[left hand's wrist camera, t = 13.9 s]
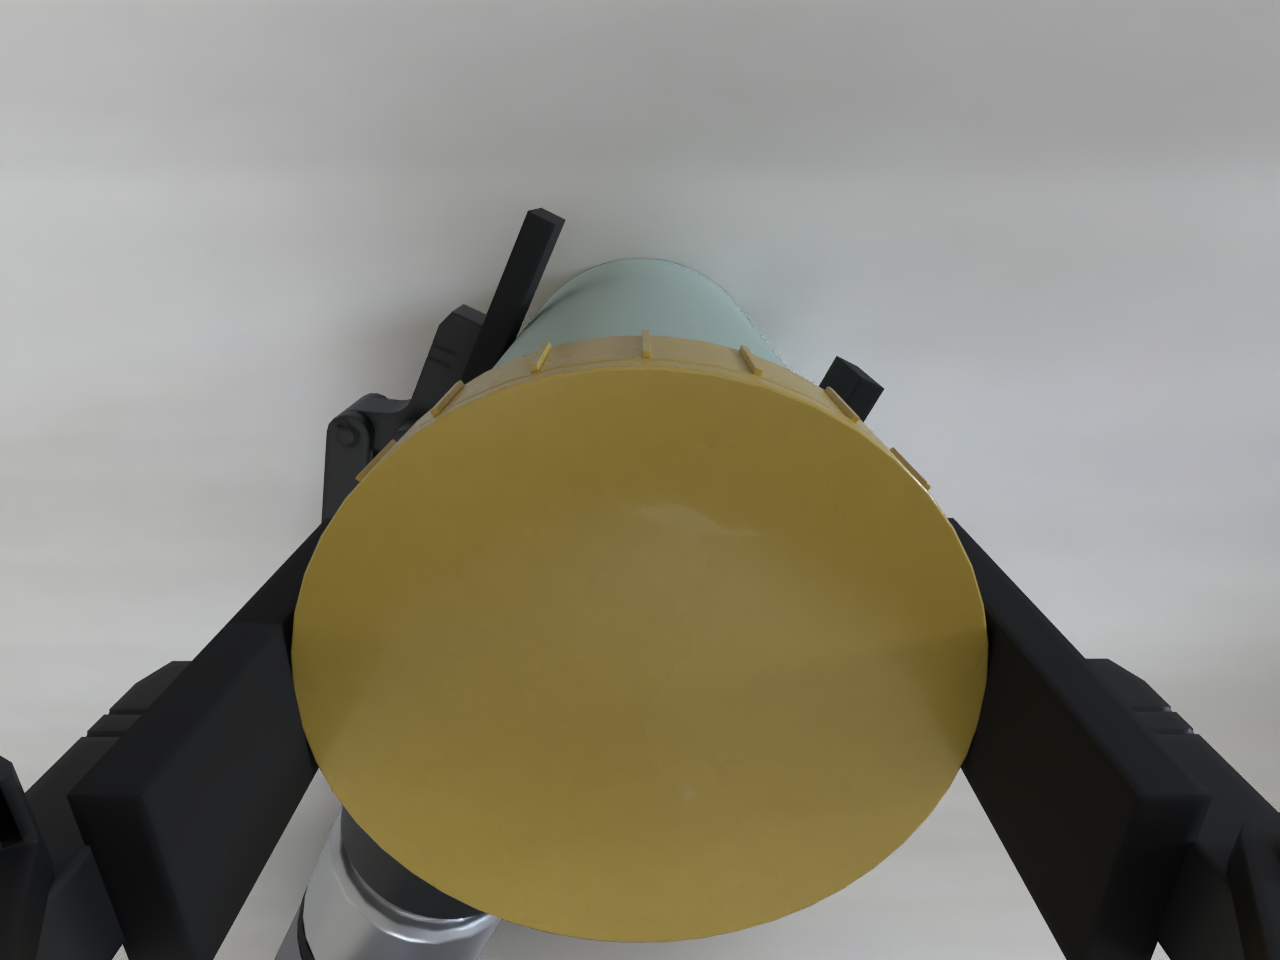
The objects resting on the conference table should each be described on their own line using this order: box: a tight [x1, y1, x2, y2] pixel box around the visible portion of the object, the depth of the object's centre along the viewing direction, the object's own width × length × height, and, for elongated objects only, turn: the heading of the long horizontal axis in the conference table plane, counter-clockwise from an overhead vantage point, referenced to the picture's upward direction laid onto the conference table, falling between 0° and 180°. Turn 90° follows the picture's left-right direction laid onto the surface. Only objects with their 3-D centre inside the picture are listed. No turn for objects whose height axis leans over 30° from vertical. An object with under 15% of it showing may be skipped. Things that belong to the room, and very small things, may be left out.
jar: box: [492, 258, 787, 369], centre depth 19 cm, size 9×9×18 cm
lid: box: [291, 330, 988, 942], centre depth 11 cm, size 10×10×2 cm
